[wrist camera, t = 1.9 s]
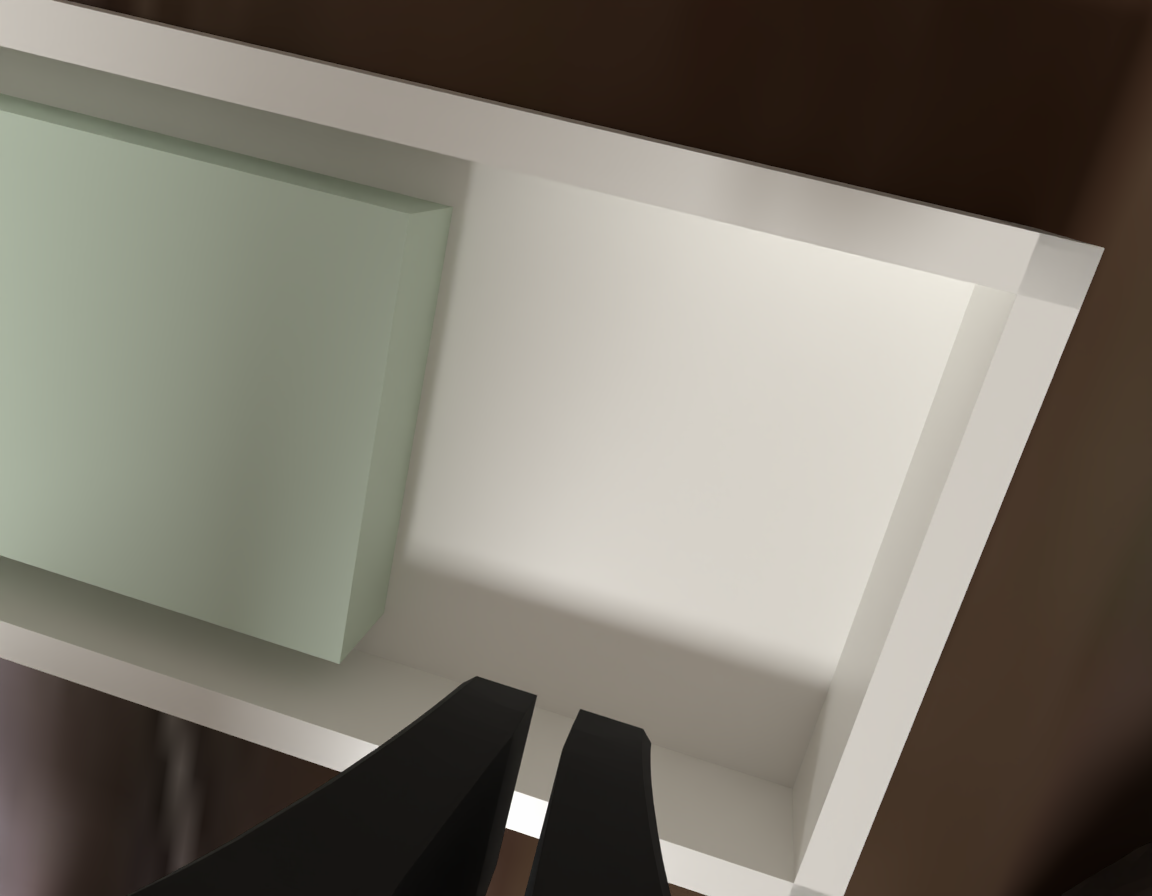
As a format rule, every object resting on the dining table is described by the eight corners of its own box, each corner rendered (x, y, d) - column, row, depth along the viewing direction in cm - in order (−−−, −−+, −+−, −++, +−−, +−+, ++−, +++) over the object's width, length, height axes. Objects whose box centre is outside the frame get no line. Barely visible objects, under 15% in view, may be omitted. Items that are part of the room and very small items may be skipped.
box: (819, 801, 19) (827, 935, 16) (-78, 515, 22) (-231, 579, 18) (1035, 228, 15) (1104, 248, 12) (-87, -36, 18) (-282, -79, 15)
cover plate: (383, 613, 19) (339, 663, 17) (-99, 463, 20) (-189, 494, 18) (453, 207, 16) (409, 214, 14) (-108, 65, 17) (-214, 55, 16)
